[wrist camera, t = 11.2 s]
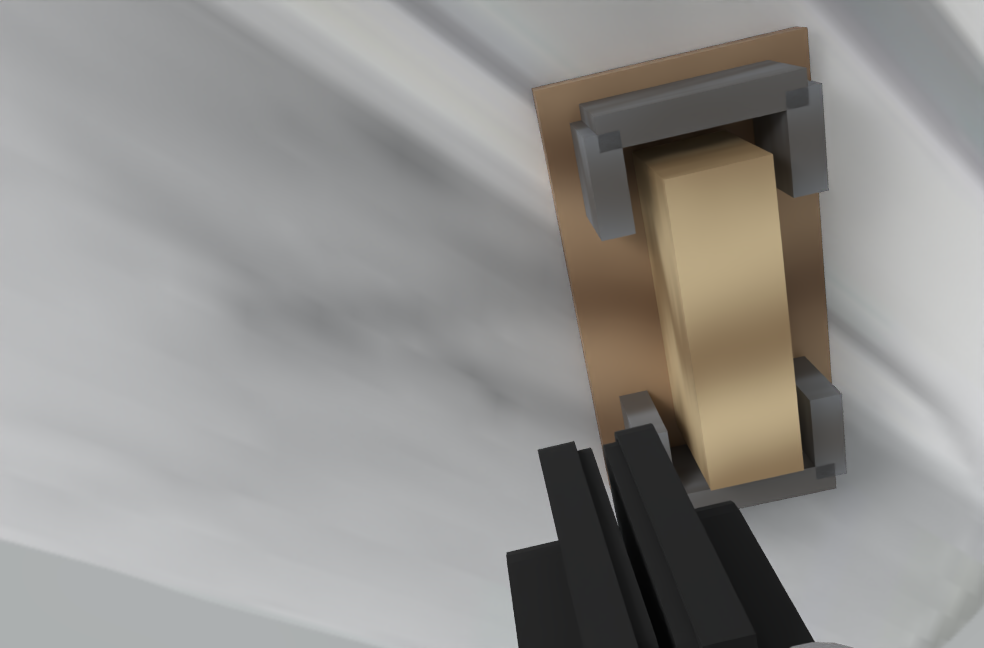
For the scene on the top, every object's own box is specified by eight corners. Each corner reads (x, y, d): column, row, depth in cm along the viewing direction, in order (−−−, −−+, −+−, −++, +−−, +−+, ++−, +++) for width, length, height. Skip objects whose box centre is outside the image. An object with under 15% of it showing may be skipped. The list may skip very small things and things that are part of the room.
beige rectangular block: (632, 152, 30) (664, 179, 26) (724, 129, 30) (772, 154, 26) (677, 425, 35) (711, 490, 30) (757, 407, 35) (804, 470, 30)
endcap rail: (531, 88, 30) (544, 102, 26) (796, 26, 30) (851, 31, 26) (609, 486, 37) (629, 548, 33) (826, 440, 37) (874, 496, 33)
